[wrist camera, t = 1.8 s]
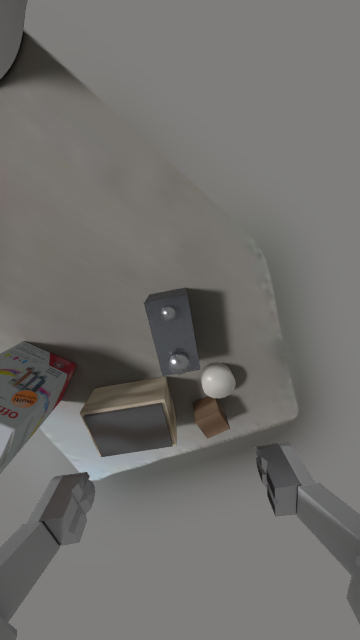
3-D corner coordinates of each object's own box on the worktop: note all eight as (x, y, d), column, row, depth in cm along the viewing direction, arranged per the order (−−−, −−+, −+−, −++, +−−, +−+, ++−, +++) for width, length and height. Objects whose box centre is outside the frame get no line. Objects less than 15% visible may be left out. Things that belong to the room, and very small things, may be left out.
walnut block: (193, 402, 32) (195, 422, 28) (213, 392, 31) (218, 411, 27) (203, 417, 33) (207, 438, 29) (223, 408, 32) (230, 428, 28)
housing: (149, 294, 25) (142, 305, 20) (185, 287, 25) (188, 296, 19) (164, 356, 29) (162, 380, 23) (196, 350, 28) (201, 374, 23)
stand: (94, 388, 30) (78, 415, 25) (166, 376, 30) (164, 401, 24) (111, 428, 33) (99, 459, 28) (176, 418, 32) (176, 448, 27)
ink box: (78, 363, 28) (16, 432, 17) (60, 401, 31) (-5, 484, 20) (22, 338, 27) (-87, 396, 16) (8, 380, 29) (-96, 457, 18)
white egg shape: (198, 364, 29) (200, 374, 27) (229, 359, 29) (234, 368, 27) (202, 389, 31) (205, 400, 28) (232, 384, 31) (236, 395, 28)
